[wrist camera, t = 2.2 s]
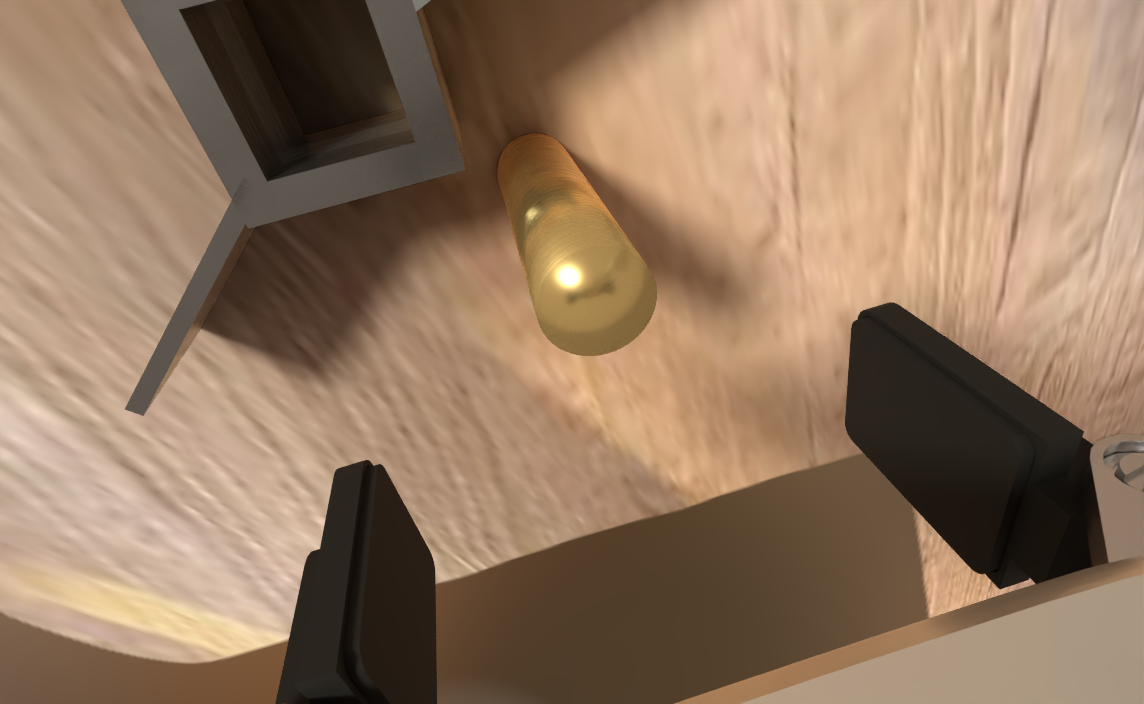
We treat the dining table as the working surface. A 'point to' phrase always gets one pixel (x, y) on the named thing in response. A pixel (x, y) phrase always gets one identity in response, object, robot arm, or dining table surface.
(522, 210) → the pin
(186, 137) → the dining table surface
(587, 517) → the dining table surface
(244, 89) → the grey winged square socket
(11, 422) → the dining table surface
